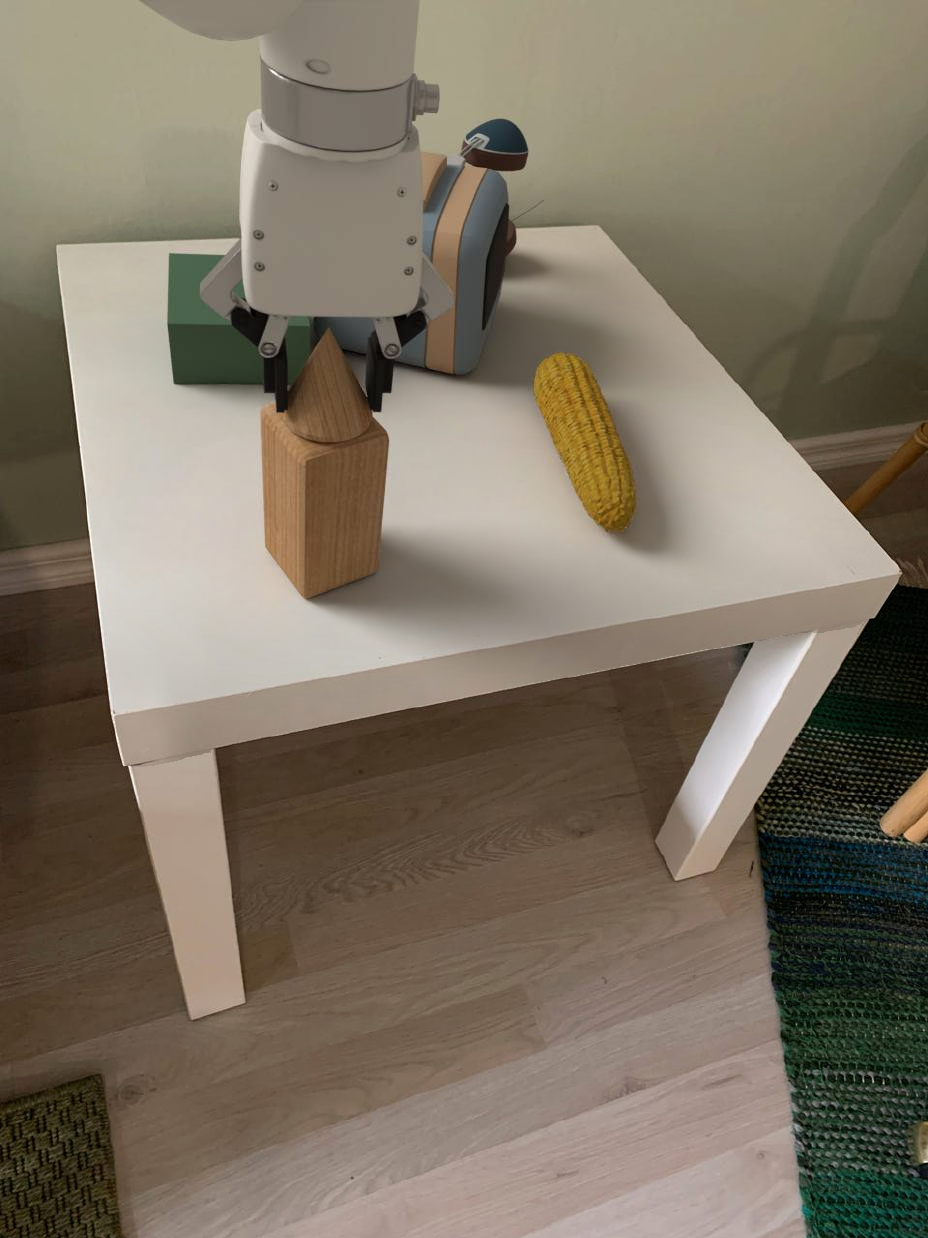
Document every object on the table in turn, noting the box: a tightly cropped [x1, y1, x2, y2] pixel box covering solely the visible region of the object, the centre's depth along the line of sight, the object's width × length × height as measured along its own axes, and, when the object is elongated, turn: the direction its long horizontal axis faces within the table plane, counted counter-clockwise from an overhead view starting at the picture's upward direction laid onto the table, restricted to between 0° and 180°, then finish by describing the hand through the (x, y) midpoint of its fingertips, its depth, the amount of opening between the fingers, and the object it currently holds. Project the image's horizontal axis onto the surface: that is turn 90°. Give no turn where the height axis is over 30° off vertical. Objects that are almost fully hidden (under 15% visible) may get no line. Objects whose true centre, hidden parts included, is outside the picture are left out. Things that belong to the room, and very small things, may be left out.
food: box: [533, 351, 638, 533], centre depth 82 cm, size 21×6×6 cm, turn 13°
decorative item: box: [259, 327, 390, 599], centre depth 65 cm, size 7×7×20 cm
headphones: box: [447, 118, 544, 258], centre depth 101 cm, size 6×15×22 cm
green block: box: [166, 252, 311, 385], centre depth 88 cm, size 12×12×6 cm
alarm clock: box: [312, 151, 510, 375], centre depth 90 cm, size 16×16×16 cm
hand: (327, 397), depth 62 cm, fingers closed on decorative item, 5 cm apart
